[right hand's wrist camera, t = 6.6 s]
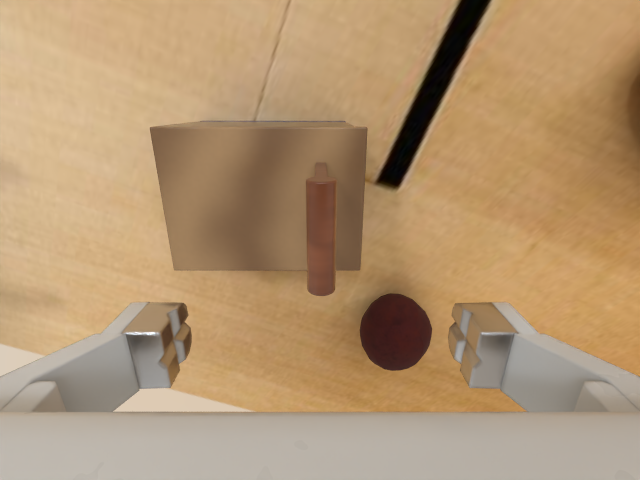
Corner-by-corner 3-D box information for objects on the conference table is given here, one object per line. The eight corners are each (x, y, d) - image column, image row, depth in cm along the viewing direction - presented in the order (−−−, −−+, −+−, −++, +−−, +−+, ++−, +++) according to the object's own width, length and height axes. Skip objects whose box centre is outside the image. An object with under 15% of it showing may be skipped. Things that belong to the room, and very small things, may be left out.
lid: (365, 126, 22) (389, 135, 15) (358, 265, 26) (375, 329, 18) (155, 126, 22) (72, 135, 15) (178, 265, 26) (121, 329, 18)
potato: (359, 343, 40) (367, 389, 34) (353, 286, 37) (360, 324, 31) (422, 336, 40) (442, 381, 33) (420, 277, 37) (441, 314, 30)
